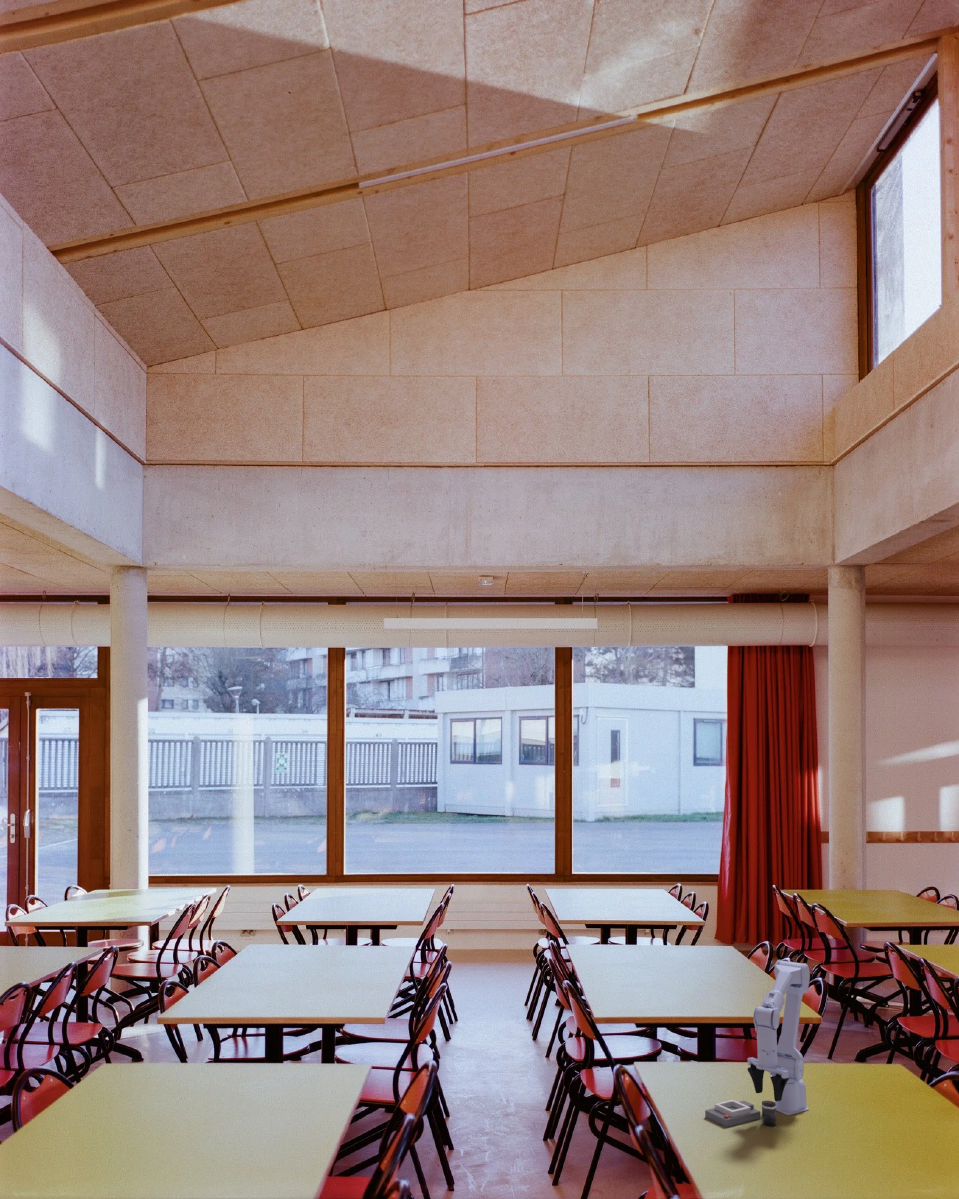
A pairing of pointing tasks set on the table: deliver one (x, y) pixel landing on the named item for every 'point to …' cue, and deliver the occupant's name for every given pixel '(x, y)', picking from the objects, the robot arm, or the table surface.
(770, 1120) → the lens
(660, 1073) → the table surface
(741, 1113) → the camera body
